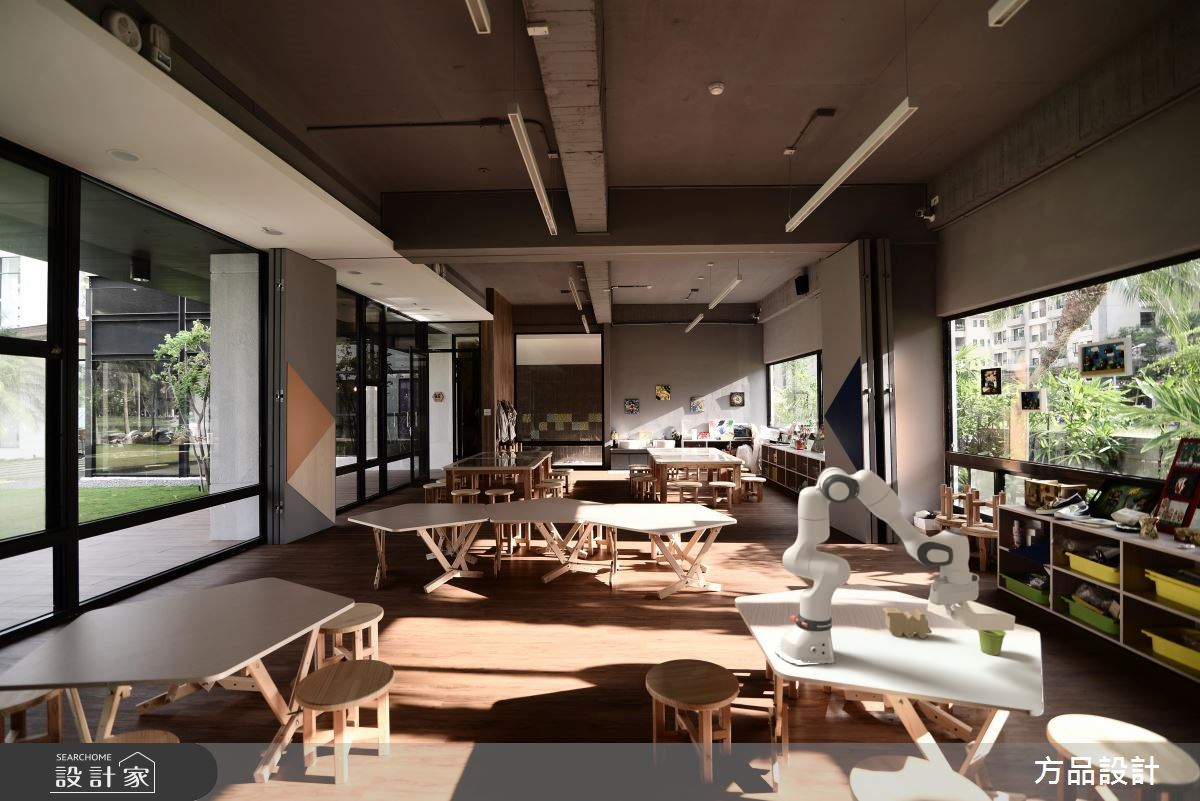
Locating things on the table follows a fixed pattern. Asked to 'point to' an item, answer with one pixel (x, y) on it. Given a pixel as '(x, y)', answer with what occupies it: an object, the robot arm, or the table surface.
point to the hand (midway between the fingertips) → (953, 614)
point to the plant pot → (991, 641)
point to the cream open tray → (976, 616)
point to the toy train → (906, 622)
